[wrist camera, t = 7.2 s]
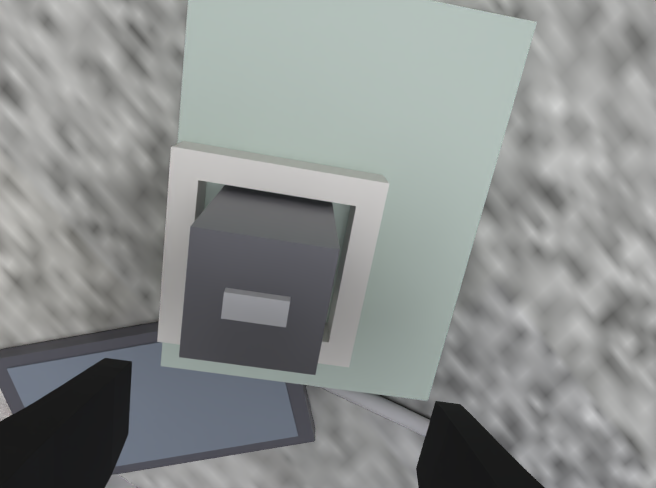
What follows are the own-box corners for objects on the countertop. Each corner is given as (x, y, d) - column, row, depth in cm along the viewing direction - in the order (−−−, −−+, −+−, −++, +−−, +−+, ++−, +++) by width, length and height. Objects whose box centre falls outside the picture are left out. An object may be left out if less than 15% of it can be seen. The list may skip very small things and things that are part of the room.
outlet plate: (422, 387, 23) (436, 424, 20) (167, 353, 22) (148, 388, 19) (524, 25, 18) (559, 16, 15) (198, -42, 17) (179, -63, 14)
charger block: (314, 291, 20) (315, 381, 14) (217, 276, 20) (176, 363, 14) (331, 197, 19) (340, 253, 13) (228, 181, 18) (187, 229, 12)
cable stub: (457, 429, 24) (462, 441, 23) (448, 441, 24) (452, 453, 23) (301, 354, 22) (300, 364, 21) (292, 367, 22) (292, 378, 21)
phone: (314, 427, 23) (314, 442, 22) (56, 470, 24) (46, 486, 23) (285, 299, 21) (284, 309, 20) (0, 349, 21) (-14, 361, 20)
